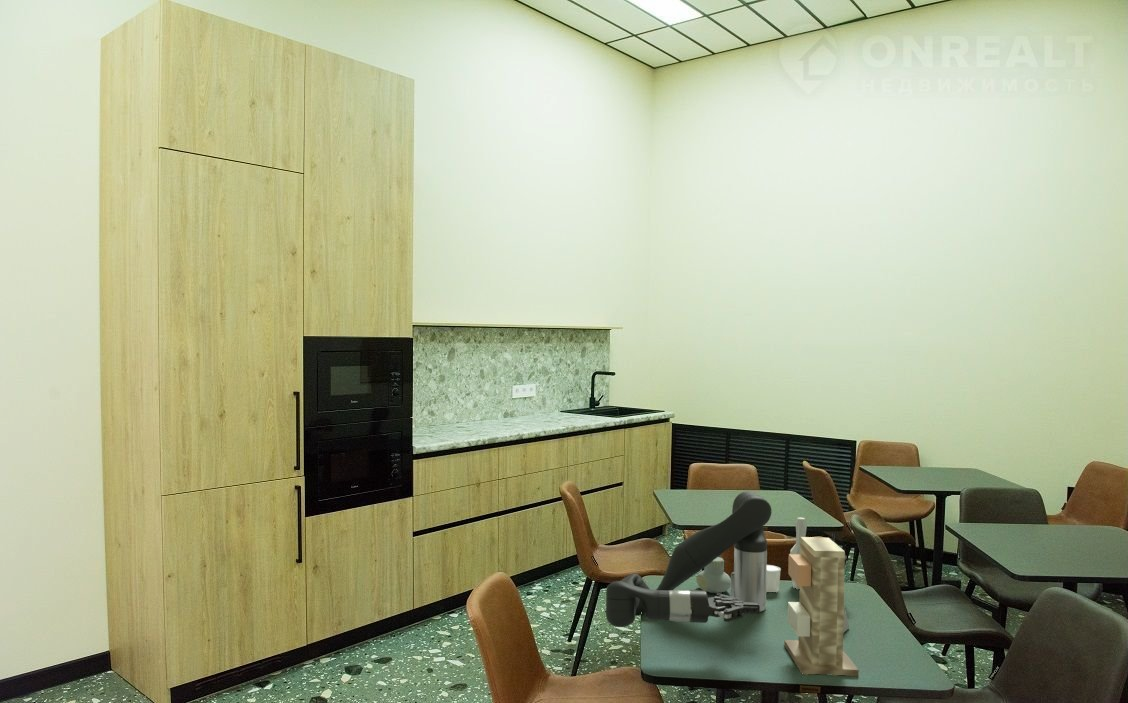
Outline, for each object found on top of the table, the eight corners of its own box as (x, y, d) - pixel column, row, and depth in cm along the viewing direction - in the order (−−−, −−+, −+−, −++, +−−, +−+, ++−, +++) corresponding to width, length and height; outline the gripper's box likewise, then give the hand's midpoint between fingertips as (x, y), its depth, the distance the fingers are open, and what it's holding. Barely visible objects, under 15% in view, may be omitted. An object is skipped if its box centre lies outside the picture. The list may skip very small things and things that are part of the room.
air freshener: (693, 586, 231) (693, 554, 231) (716, 583, 234) (717, 552, 234) (710, 597, 221) (711, 565, 221) (734, 595, 224) (735, 562, 223)
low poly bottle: (786, 584, 234) (787, 515, 234) (805, 583, 235) (806, 515, 235) (794, 591, 228) (795, 520, 228) (813, 590, 229) (815, 520, 228)
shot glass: (768, 594, 224) (768, 572, 224) (753, 588, 230) (753, 565, 230) (785, 591, 227) (785, 569, 227) (769, 584, 234) (769, 563, 233)
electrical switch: (838, 639, 191) (835, 603, 192) (818, 635, 195) (816, 600, 195) (850, 628, 199) (847, 593, 199) (830, 625, 202) (828, 591, 202)
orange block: (821, 575, 182) (821, 555, 182) (832, 587, 173) (833, 566, 173) (788, 574, 183) (788, 554, 183) (798, 586, 174) (798, 565, 174)
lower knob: (820, 622, 183) (820, 602, 183) (831, 637, 174) (832, 616, 174) (787, 621, 183) (787, 601, 183) (797, 636, 174) (797, 615, 174)
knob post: (836, 647, 186) (838, 535, 186) (858, 676, 170) (860, 554, 170) (784, 645, 187) (786, 534, 186) (801, 674, 171) (804, 552, 170)
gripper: (684, 611, 186) (753, 613, 185) (690, 631, 173) (764, 634, 172) (684, 581, 186) (753, 584, 185) (690, 600, 173) (765, 602, 172)
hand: (758, 608), depth 178 cm, fingers closed
